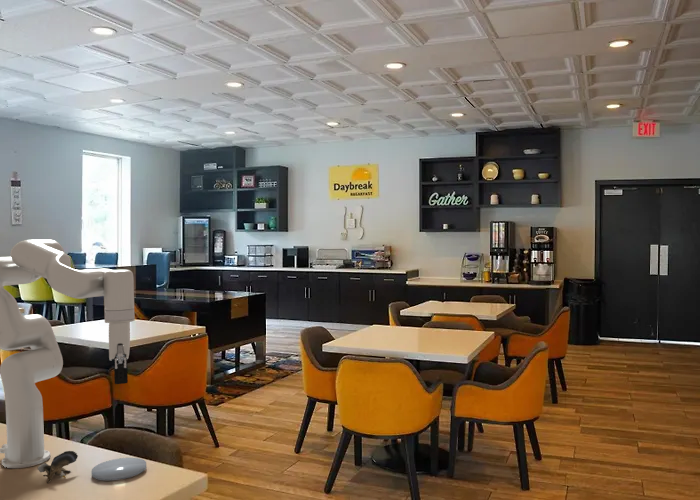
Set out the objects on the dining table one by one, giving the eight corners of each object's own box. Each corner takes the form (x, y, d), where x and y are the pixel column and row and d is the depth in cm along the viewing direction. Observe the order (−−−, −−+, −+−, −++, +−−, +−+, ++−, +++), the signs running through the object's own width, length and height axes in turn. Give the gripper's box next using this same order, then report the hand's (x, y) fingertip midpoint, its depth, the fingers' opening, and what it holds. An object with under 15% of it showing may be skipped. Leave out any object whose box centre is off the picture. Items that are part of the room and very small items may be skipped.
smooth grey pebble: (80, 480, 164) (79, 474, 164) (114, 461, 178) (113, 456, 178) (125, 484, 160) (125, 478, 160) (156, 465, 174) (156, 459, 174)
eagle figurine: (68, 479, 162) (84, 461, 171) (50, 458, 161) (68, 441, 170) (46, 493, 163) (64, 474, 172) (29, 473, 162) (48, 455, 171)
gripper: (105, 313, 173) (107, 374, 173) (103, 320, 157) (105, 388, 157) (134, 311, 175) (135, 371, 176) (135, 319, 159) (136, 385, 160)
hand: (121, 379), depth 166 cm, fingers open, 9 cm apart
